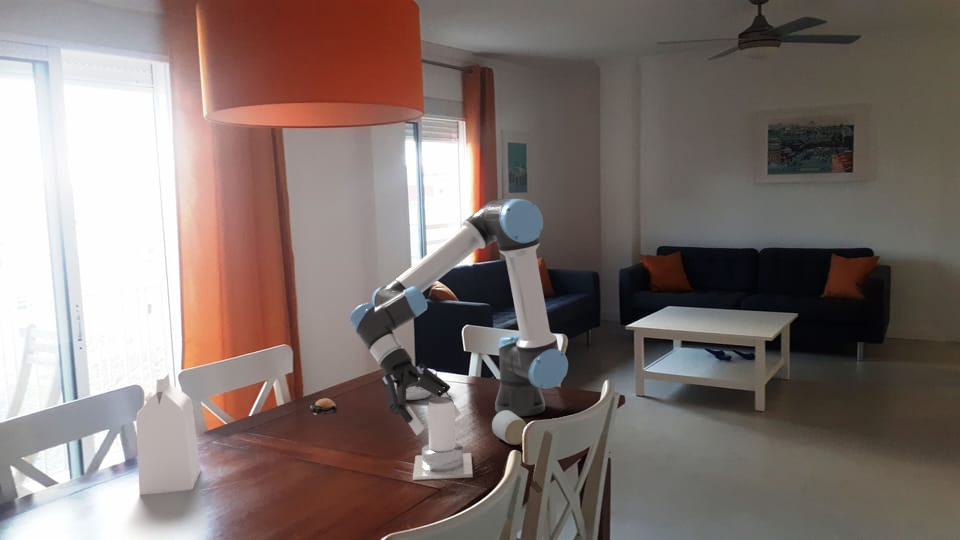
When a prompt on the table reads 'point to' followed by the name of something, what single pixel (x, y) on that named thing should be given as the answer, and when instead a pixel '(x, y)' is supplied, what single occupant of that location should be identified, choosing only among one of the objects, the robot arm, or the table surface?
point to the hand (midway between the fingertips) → (439, 424)
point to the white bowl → (417, 391)
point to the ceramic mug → (508, 427)
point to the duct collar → (442, 464)
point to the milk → (167, 441)
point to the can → (441, 424)
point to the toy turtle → (323, 406)
